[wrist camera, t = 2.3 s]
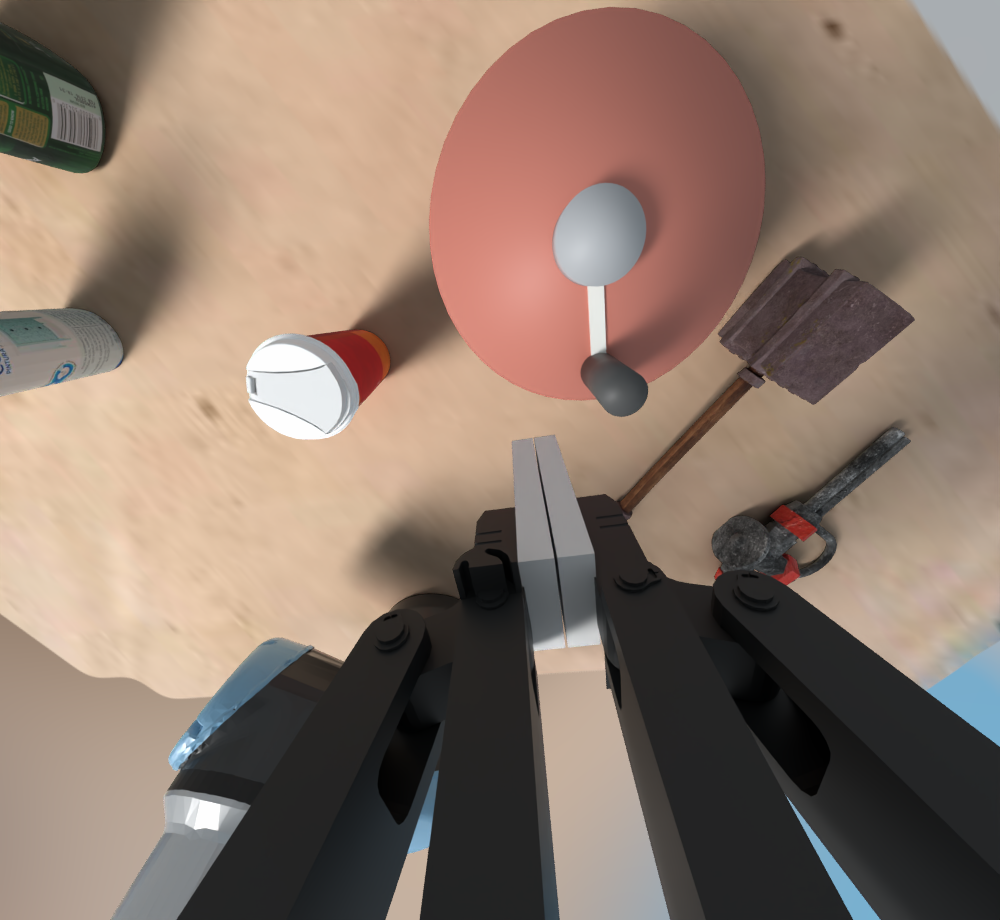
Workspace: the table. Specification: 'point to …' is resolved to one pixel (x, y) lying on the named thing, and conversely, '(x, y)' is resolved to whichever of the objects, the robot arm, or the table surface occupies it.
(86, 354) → the spray paint can
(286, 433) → the paper cup
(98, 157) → the coffee jar
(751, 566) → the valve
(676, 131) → the handwheel
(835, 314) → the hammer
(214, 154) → the table surface
